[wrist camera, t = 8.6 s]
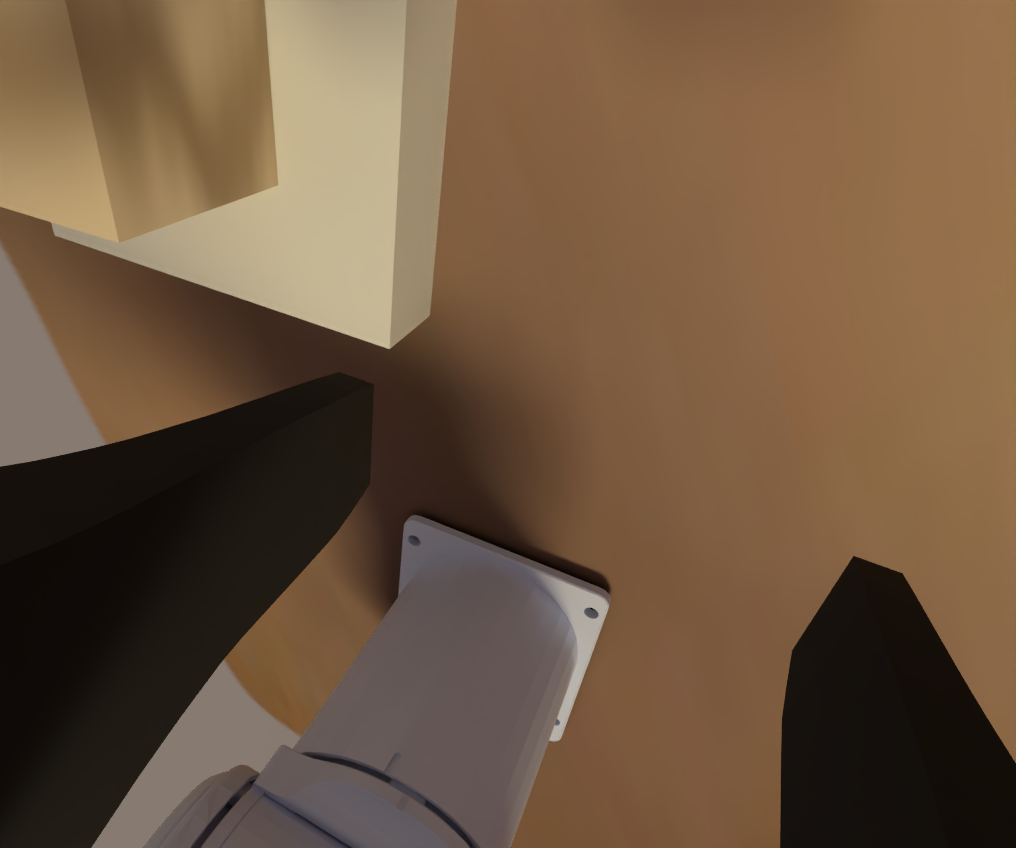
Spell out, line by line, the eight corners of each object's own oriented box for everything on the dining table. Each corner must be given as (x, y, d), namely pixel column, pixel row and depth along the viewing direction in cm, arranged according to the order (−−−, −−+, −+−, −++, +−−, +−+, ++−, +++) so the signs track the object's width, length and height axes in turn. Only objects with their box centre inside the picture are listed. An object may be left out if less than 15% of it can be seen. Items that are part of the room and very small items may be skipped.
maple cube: (278, 185, 17) (119, 242, 13) (124, 144, 18) (-64, 186, 15) (260, -52, 14) (50, -66, 10) (78, -82, 16) (-170, -105, 12)
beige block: (437, 309, 21) (389, 349, 19) (130, 211, 24) (54, 235, 21) (485, -209, 14) (418, -248, 12) (43, -266, 17) (-84, -308, 14)
